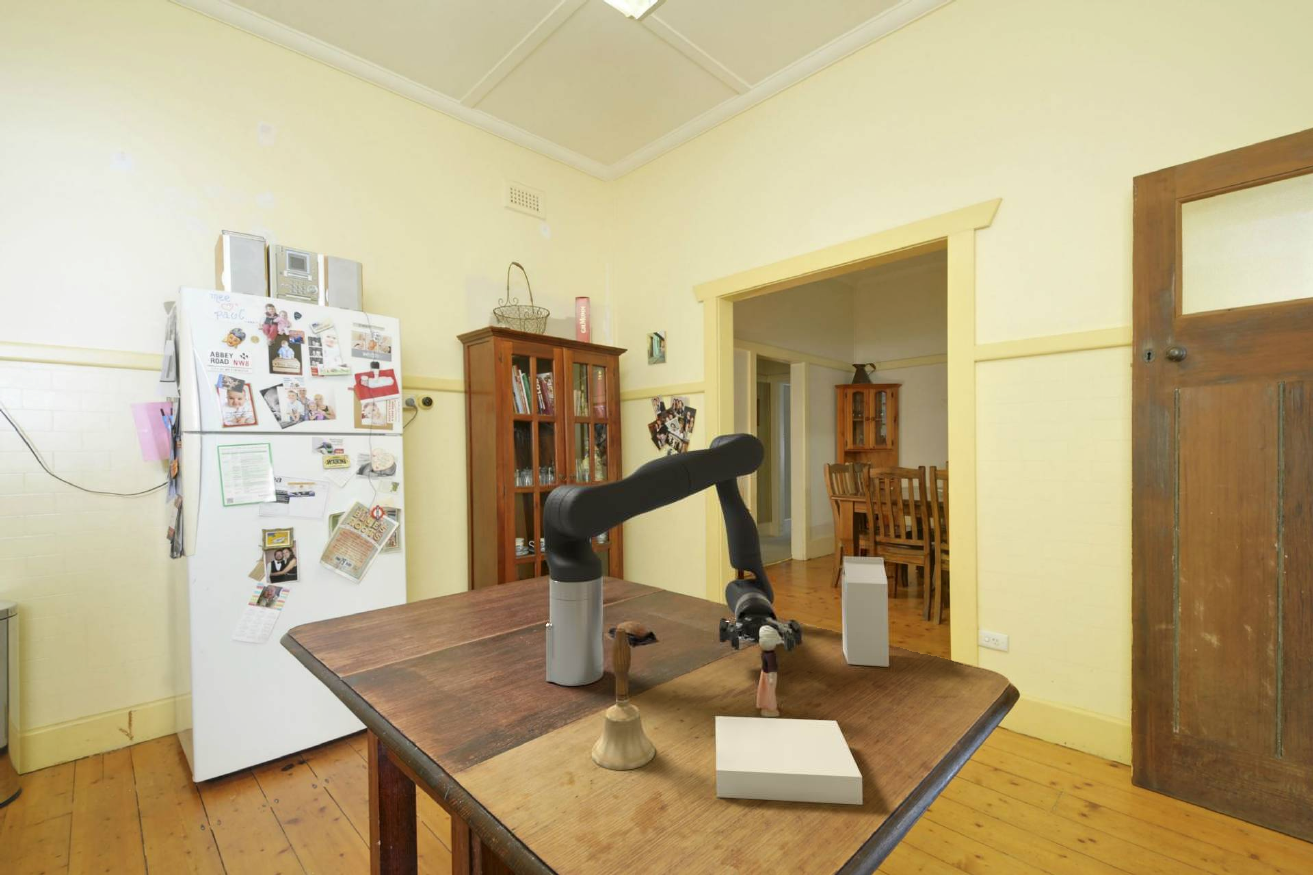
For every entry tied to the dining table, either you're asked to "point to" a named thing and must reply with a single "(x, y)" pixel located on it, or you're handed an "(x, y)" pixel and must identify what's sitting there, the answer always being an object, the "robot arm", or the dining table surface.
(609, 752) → the hand bell
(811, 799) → the stone slab
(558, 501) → the robot arm
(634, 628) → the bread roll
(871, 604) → the milk carton
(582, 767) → the dining table surface
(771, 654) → the grandmother figurine
